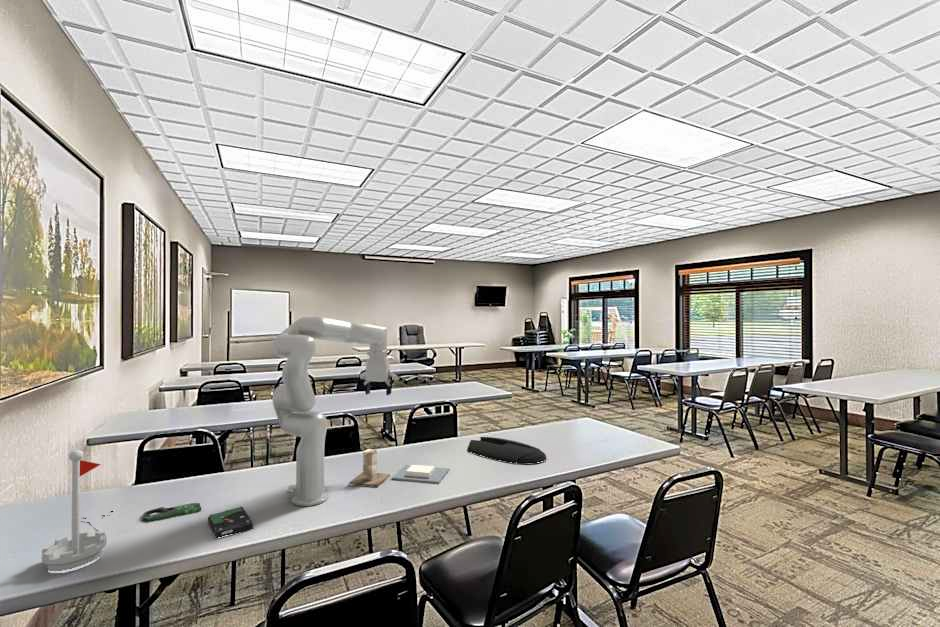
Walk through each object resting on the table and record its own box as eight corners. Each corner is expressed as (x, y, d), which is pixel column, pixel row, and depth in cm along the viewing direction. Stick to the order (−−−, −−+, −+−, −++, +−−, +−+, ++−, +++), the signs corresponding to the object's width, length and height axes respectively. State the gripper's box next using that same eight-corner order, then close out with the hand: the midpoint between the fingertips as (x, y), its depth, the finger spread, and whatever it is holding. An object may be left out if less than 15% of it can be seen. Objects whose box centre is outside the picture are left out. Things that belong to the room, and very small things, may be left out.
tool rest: (349, 484, 175) (349, 482, 175) (363, 474, 187) (363, 471, 187) (377, 487, 173) (377, 484, 173) (389, 476, 184) (389, 474, 184)
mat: (391, 479, 181) (391, 477, 181) (405, 466, 197) (405, 464, 197) (438, 483, 177) (438, 481, 177) (449, 470, 192) (449, 468, 192)
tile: (412, 469, 190) (405, 476, 183) (412, 464, 190) (405, 470, 183) (434, 471, 188) (429, 478, 180) (434, 466, 188) (429, 472, 180)
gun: (200, 498, 159) (201, 508, 150) (200, 503, 159) (201, 513, 150) (143, 509, 150) (141, 520, 142) (143, 513, 150) (141, 525, 142)
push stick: (363, 479, 178) (363, 451, 178) (367, 475, 182) (367, 448, 182) (372, 480, 177) (372, 452, 177) (376, 476, 181) (376, 449, 181)
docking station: (528, 470, 194) (528, 458, 194) (459, 451, 220) (459, 441, 220) (557, 456, 213) (557, 446, 213) (490, 441, 239) (490, 431, 239)
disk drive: (254, 531, 139) (242, 514, 150) (254, 522, 139) (242, 505, 150) (216, 541, 132) (206, 523, 143) (216, 532, 132) (207, 514, 143)
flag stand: (44, 582, 110) (45, 461, 111) (39, 562, 119) (40, 450, 119) (110, 561, 120) (111, 449, 120) (101, 544, 129) (102, 440, 129)
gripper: (356, 355, 193) (355, 394, 193) (393, 356, 189) (393, 396, 189) (363, 353, 200) (363, 392, 200) (400, 354, 196) (400, 393, 196)
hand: (378, 394), depth 194 cm, fingers open, 9 cm apart
